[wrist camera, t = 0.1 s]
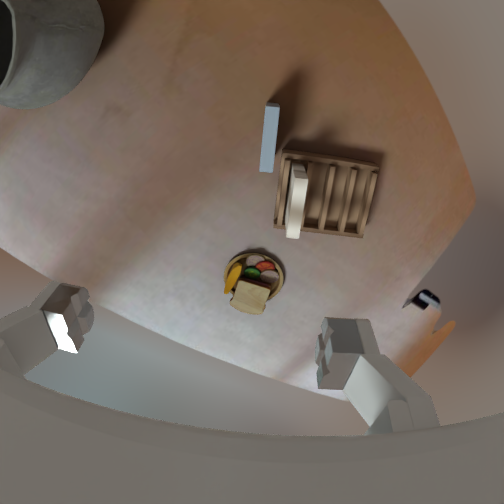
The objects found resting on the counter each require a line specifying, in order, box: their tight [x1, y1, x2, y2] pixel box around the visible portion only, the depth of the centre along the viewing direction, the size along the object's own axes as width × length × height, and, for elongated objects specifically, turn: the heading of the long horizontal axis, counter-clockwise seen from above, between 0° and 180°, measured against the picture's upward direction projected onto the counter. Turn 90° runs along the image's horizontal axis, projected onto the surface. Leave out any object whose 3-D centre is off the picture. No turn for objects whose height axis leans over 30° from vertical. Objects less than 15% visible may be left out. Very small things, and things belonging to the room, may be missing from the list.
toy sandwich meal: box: [224, 253, 284, 314], centre depth 66 cm, size 12×14×5 cm
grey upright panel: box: [259, 103, 280, 173], centre depth 48 cm, size 10×2×9 cm, turn 175°
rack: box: [274, 149, 379, 239], centre depth 53 cm, size 14×17×10 cm
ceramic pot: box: [0, 0, 104, 109], centre depth 32 cm, size 24×24×25 cm
